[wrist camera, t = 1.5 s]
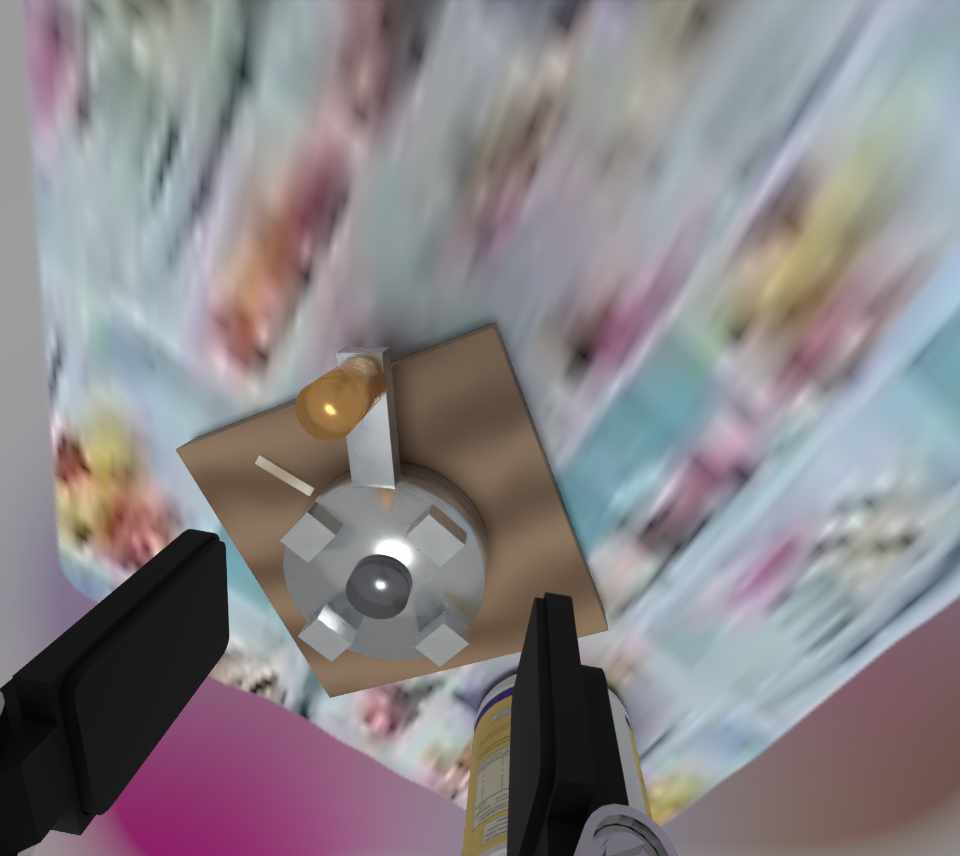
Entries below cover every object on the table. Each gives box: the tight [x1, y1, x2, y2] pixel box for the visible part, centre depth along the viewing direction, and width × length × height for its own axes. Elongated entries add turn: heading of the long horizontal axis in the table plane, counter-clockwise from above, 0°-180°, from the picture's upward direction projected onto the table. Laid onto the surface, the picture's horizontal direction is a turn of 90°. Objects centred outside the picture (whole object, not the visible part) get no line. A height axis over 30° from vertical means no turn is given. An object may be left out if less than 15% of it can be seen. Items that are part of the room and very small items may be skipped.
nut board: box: [176, 322, 608, 698], centre depth 34 cm, size 22×22×2 cm
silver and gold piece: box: [280, 347, 488, 667], centre depth 28 cm, size 20×12×8 cm, turn 2°
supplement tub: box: [462, 674, 653, 856], centre depth 32 cm, size 12×12×17 cm
